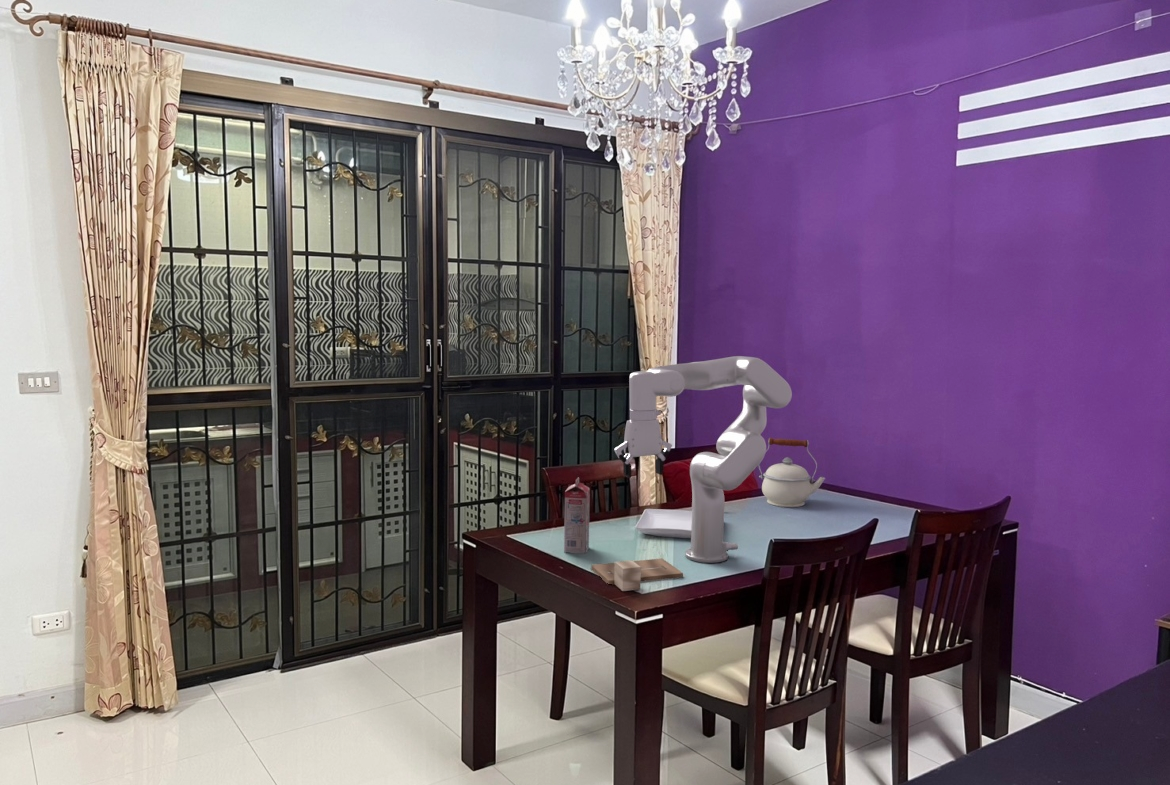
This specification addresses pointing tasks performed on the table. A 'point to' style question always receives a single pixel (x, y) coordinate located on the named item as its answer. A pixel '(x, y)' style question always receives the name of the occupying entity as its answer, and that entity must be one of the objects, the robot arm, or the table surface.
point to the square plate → (665, 523)
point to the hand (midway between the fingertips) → (643, 475)
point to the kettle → (788, 479)
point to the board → (649, 570)
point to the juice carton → (576, 518)
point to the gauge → (627, 575)
